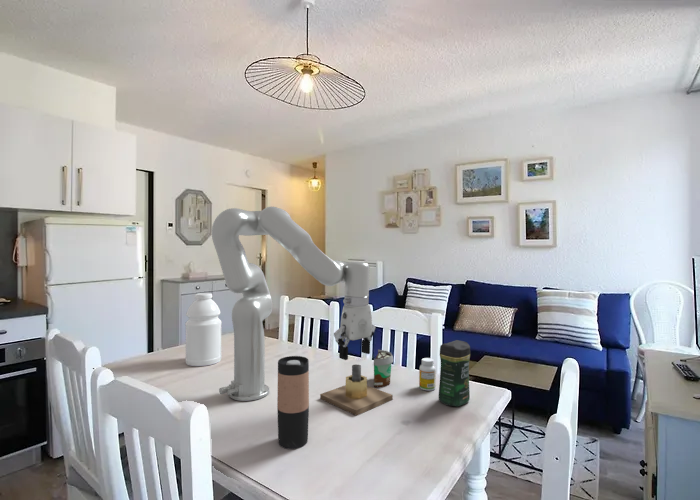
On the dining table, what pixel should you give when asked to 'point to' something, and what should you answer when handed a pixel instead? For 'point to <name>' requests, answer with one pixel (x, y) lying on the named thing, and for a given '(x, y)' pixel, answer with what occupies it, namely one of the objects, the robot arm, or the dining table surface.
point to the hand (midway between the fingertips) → (354, 355)
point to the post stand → (356, 405)
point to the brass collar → (356, 388)
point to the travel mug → (293, 401)
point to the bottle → (203, 332)
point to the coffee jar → (454, 373)
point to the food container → (382, 368)
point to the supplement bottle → (427, 375)
